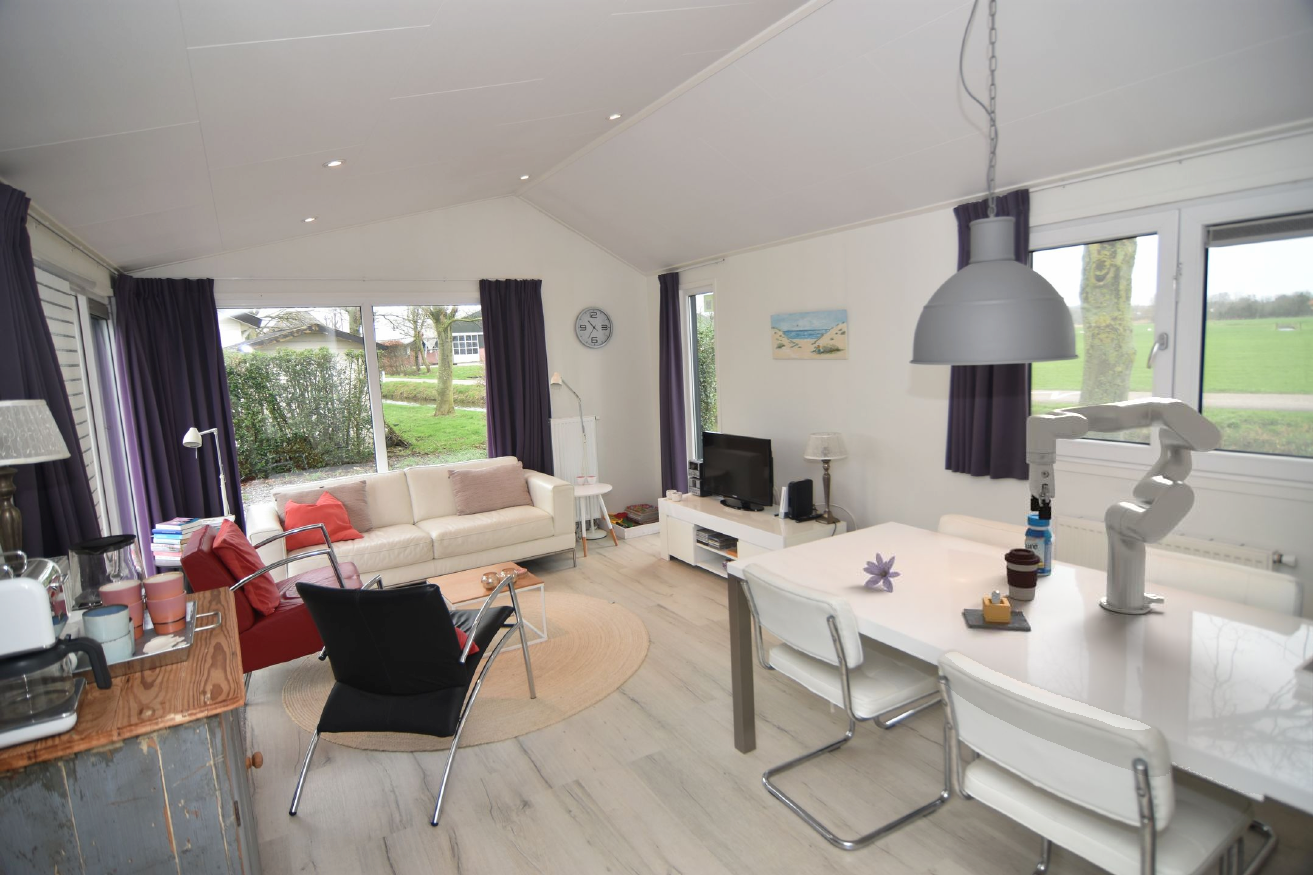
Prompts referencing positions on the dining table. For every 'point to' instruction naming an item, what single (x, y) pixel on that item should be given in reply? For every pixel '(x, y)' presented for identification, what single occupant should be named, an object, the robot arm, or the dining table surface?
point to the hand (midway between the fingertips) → (1040, 515)
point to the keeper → (978, 621)
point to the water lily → (881, 572)
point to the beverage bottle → (1039, 542)
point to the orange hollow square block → (996, 610)
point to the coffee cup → (1022, 573)
